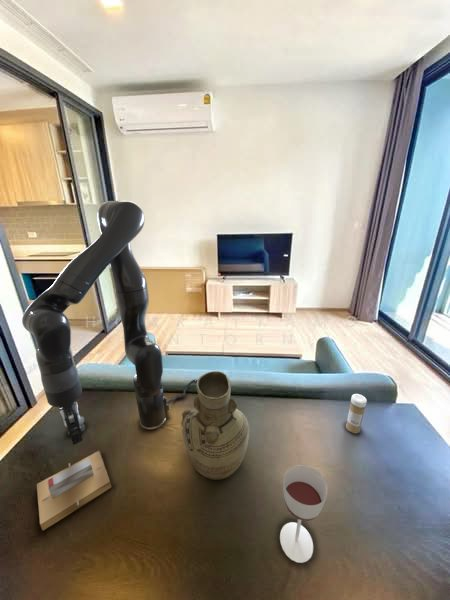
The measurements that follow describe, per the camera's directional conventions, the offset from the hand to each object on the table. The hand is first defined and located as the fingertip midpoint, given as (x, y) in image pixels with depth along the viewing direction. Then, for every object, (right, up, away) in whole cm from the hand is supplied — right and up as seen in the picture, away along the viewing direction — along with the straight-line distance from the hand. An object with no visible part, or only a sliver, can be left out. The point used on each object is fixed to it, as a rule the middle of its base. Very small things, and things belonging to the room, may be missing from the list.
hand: (74, 431), depth 68 cm
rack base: (-1, -17, +2) cm, 17 cm away
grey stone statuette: (-12, -11, +20) cm, 26 cm away
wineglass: (+58, -21, -9) cm, 62 cm away
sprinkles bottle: (+86, -10, +20) cm, 89 cm away
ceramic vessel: (+38, -14, +10) cm, 42 cm away
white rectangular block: (-1, -15, +1) cm, 15 cm away
